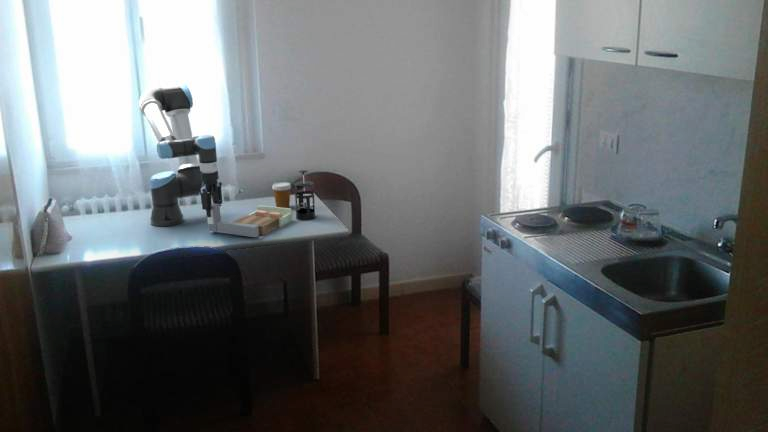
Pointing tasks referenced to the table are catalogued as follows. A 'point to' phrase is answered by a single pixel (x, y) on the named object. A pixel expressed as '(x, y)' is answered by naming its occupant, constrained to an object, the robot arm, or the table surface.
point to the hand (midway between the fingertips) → (214, 222)
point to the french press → (304, 207)
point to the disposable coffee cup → (282, 194)
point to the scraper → (231, 225)
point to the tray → (285, 212)
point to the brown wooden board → (260, 223)
